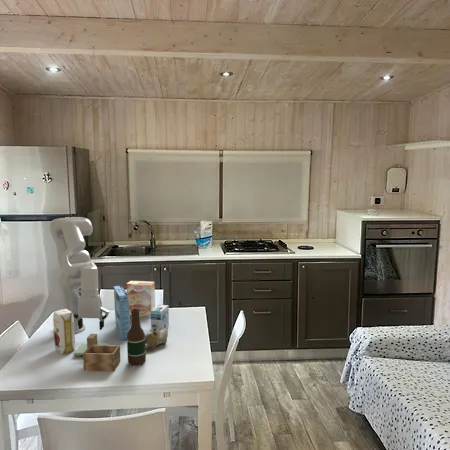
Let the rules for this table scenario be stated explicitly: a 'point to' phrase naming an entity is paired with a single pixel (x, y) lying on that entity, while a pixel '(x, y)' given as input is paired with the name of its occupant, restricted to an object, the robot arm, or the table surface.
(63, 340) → the juice carton
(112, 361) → the crate
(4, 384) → the table surface
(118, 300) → the gum box
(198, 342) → the table surface
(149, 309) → the coffeecake box
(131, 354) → the beer bottle
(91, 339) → the lid
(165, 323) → the light bulb box
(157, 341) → the ceramic sculpture
